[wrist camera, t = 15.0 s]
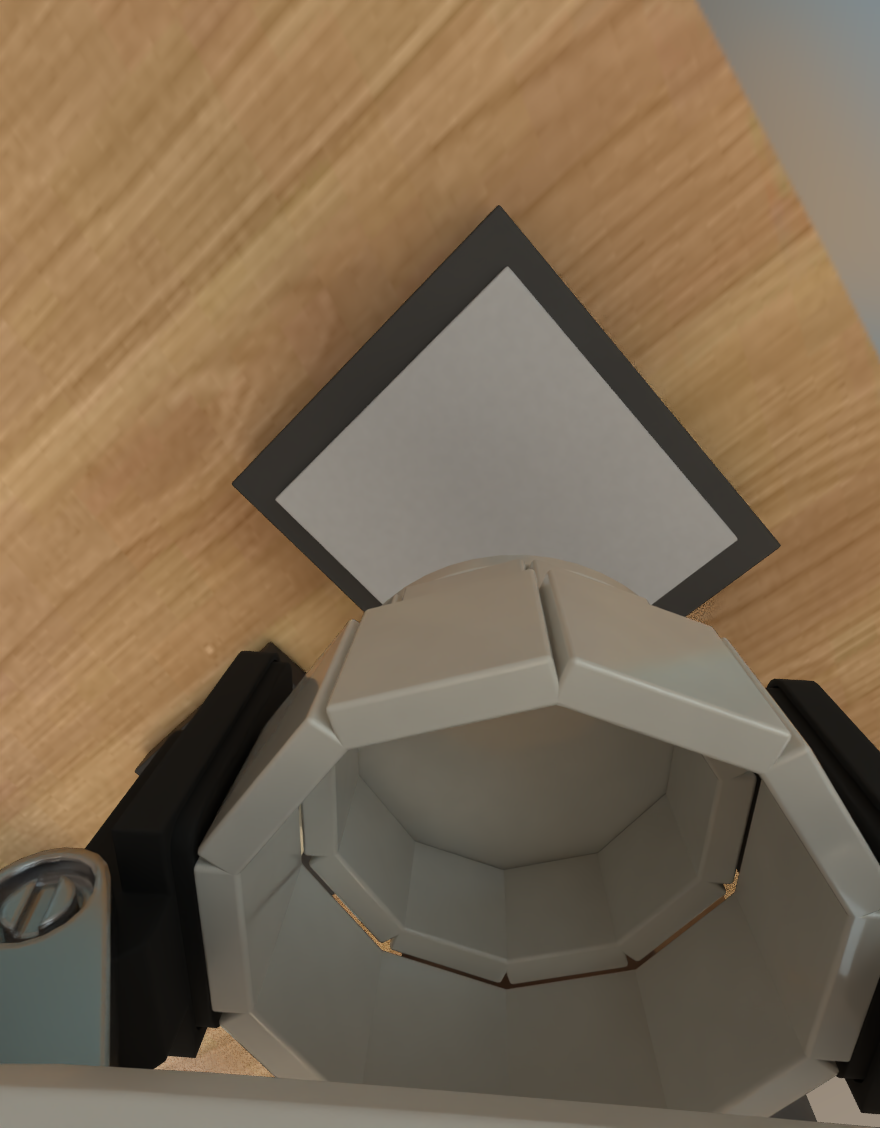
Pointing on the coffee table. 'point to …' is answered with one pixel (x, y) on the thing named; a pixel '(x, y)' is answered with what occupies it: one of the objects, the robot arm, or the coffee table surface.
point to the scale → (500, 447)
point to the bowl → (539, 859)
